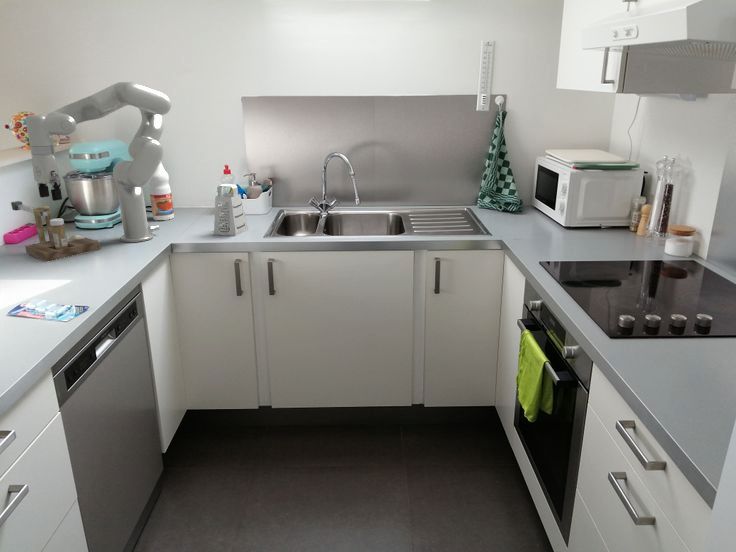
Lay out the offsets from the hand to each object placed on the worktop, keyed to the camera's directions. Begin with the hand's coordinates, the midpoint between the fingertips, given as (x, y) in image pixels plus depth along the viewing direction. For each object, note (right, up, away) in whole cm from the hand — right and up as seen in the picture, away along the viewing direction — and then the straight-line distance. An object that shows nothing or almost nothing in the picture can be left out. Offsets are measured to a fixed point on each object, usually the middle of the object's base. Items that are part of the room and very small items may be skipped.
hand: (51, 198), depth 215 cm
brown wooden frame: (-1, -19, +11) cm, 22 cm away
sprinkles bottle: (+1, -20, +7) cm, 22 cm away
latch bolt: (-16, -4, +16) cm, 23 cm away
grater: (+58, -10, +36) cm, 68 cm away
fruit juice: (+20, -2, +60) cm, 63 cm away
